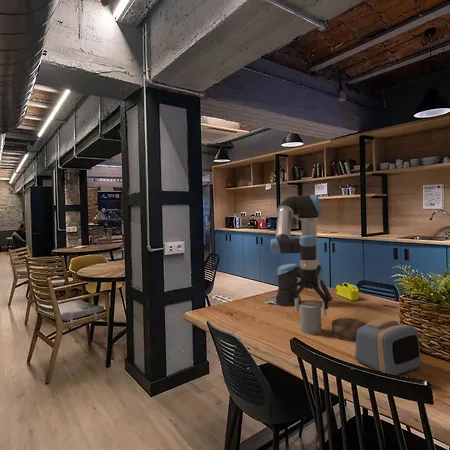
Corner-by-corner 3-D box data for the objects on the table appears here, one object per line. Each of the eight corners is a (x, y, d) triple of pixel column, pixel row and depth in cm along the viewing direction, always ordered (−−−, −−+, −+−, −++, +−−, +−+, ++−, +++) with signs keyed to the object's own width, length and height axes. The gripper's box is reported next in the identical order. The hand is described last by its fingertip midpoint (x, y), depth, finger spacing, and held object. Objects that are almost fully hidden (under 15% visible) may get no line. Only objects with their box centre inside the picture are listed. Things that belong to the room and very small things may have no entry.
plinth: (326, 336, 146) (326, 325, 145) (337, 326, 157) (337, 316, 157) (361, 343, 136) (360, 331, 136) (370, 332, 148) (370, 321, 148)
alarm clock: (391, 380, 107) (390, 332, 107) (352, 360, 122) (351, 318, 121) (423, 368, 114) (422, 323, 113) (383, 351, 129) (382, 311, 128)
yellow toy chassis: (359, 300, 199) (359, 286, 198) (351, 301, 197) (350, 287, 197) (343, 294, 214) (343, 281, 214) (336, 295, 213) (335, 282, 212)
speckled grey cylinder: (319, 326, 158) (318, 301, 157) (323, 334, 148) (322, 307, 148) (299, 327, 159) (298, 302, 158) (302, 334, 149) (301, 307, 149)
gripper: (281, 267, 157) (282, 311, 158) (332, 271, 142) (334, 320, 142) (288, 265, 163) (289, 308, 163) (338, 268, 148) (340, 315, 148)
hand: (310, 313), depth 153 cm, fingers open, 13 cm apart
